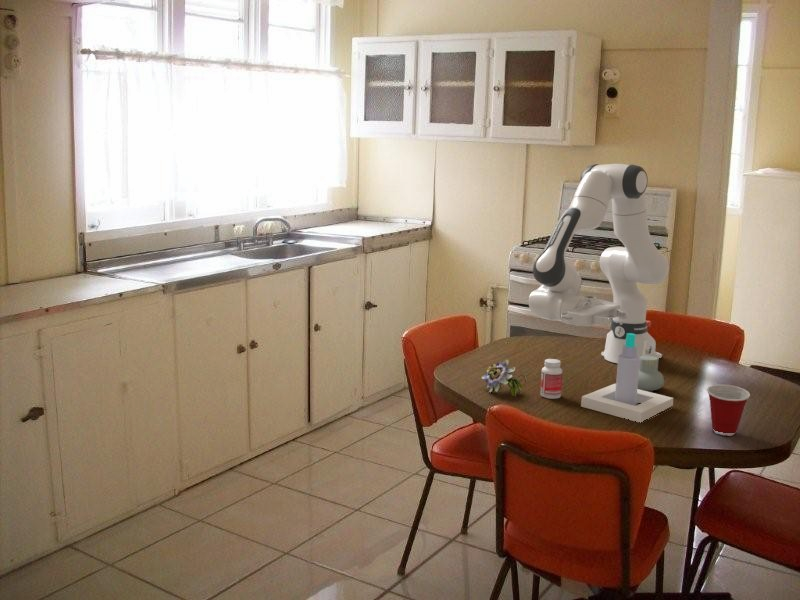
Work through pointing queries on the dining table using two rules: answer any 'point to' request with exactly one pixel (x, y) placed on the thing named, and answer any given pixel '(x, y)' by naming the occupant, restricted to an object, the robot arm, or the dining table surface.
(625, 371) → the spray bottle
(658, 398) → the hole block
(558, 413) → the dining table surface
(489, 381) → the passion flower
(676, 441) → the dining table surface
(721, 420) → the plastic cup
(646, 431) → the dining table surface
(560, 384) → the pill bottle
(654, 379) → the air freshener
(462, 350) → the dining table surface
